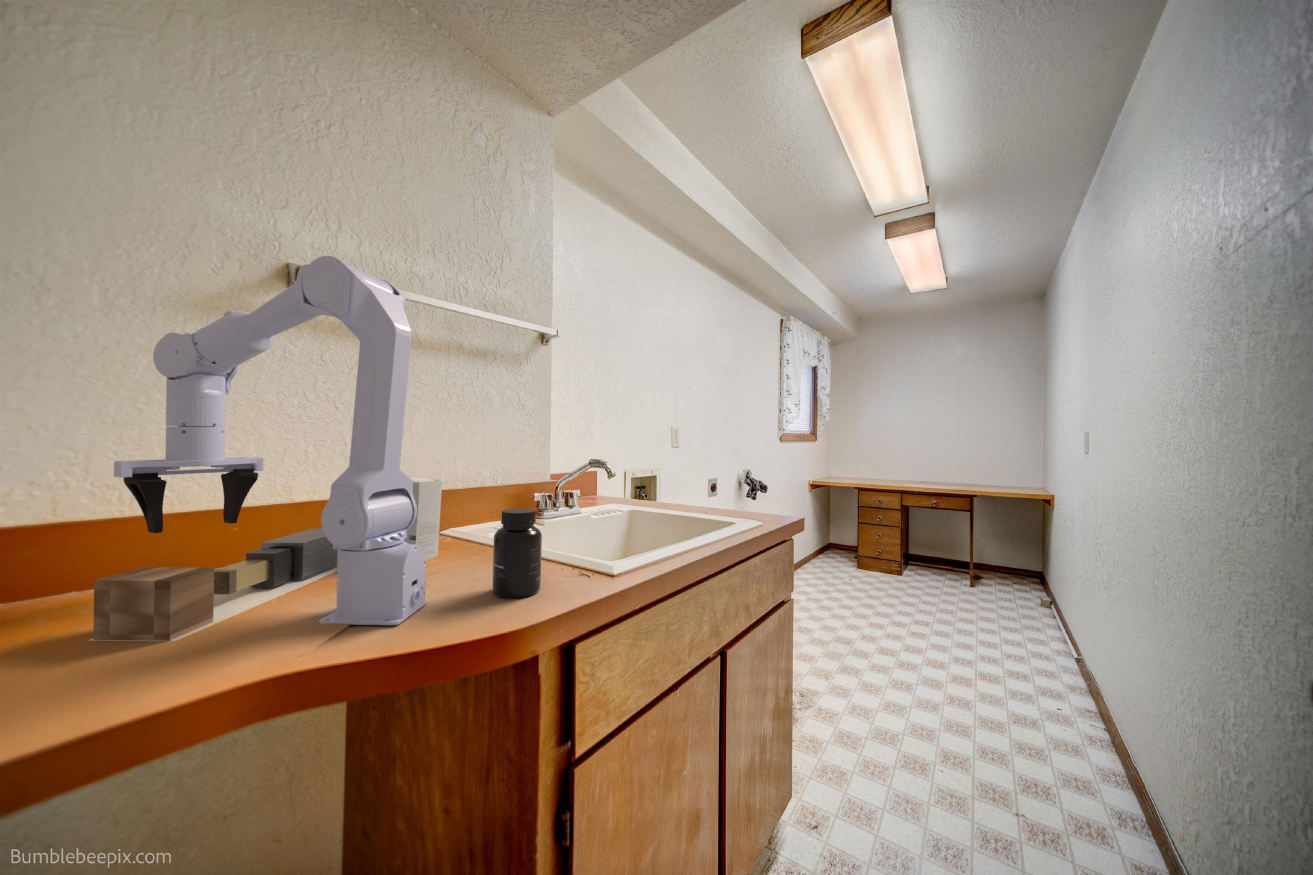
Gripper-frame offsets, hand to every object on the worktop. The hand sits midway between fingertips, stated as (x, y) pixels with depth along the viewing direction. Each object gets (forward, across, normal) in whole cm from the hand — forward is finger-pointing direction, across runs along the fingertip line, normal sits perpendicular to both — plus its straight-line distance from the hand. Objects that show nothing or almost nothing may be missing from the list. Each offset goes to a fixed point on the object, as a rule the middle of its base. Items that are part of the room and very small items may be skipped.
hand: (194, 527), depth 63 cm
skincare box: (+10, -28, +6) cm, 30 cm away
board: (+10, -5, +5) cm, 12 cm away
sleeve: (+9, -14, 0) cm, 17 cm away
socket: (+9, +7, +11) cm, 16 cm away
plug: (+9, -8, +3) cm, 13 cm away
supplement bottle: (+10, -23, +36) cm, 44 cm away
